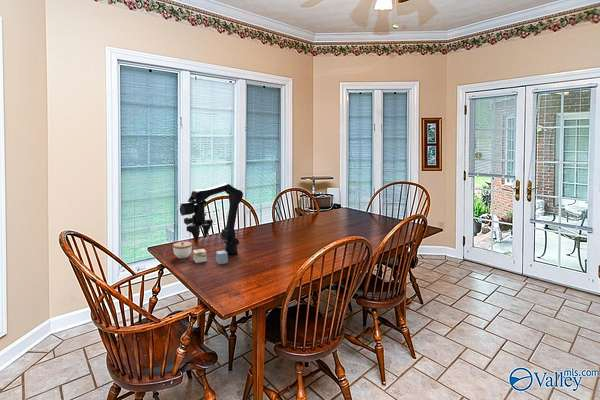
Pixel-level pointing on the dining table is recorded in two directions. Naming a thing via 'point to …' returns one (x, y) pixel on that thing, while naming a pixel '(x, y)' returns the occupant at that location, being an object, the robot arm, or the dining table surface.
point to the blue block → (221, 257)
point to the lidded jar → (182, 249)
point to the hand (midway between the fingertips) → (201, 239)
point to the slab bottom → (200, 259)
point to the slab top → (199, 253)
